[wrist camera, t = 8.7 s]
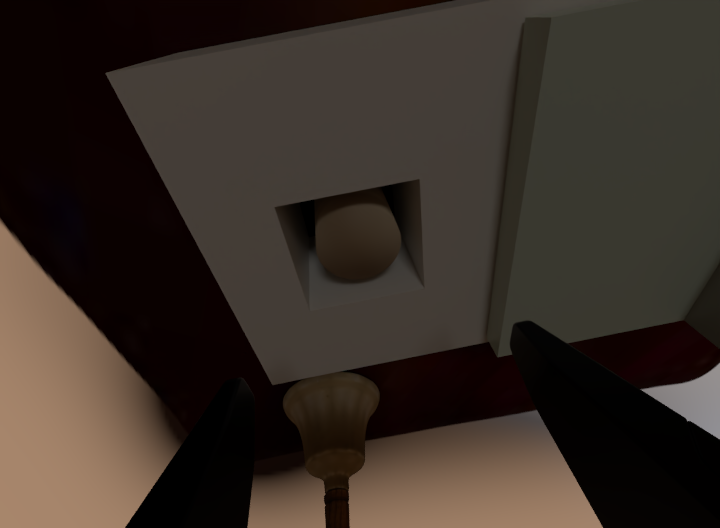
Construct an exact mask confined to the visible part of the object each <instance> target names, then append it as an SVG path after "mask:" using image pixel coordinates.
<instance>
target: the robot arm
mask: <svg viewBox="0 0 720 528" xmlns="http://www.w3.org/2000/svg"><path fill="white" fill-rule="evenodd" d="M510 349H511V352H512V354H513V357H514V359H515V361H516V364H517V366H518V368H519V371H520V373H521V375H522V378H523V380H524V382H525V385H526V387H527V389H528V392H529V394H530V396H531V398H532V401H533V403H534V405H535V407H536V409H537V411H538V412H539V414H540V416H541V418H542V420H543V422H544V423H545V425H546V427H547V429H548V430H549V432H550V434H551V436H552V437H553V439H554V441H555V443H556V444H557V446H558V448H559V450H560V452H561V454H562V455H563V457H564V459H565V461H566V462H567V464H568V466H569V468H570V469H571V471H572V473H573V475H574V476H575V478H576V480H577V482H578V484H579V485H580V487H581V489H582V491H583V493H584V494H585V496H586V498H587V500H588V501H589V503H590V505H591V507H592V508H593V510H594V512H595V514H596V516H597V517H598V519H599V521H600V523H601V525H602V526H603V528H720V439H718V438H716V437H715V436H713V435H711V434H710V433H708V432H707V431H705V430H704V429H702V428H700V427H699V426H697V425H696V424H694V423H692V422H691V421H688V422H687V420H686V418H684V417H683V416H681V415H680V414H678V413H676V412H675V411H673V410H672V409H670V408H668V407H667V406H665V405H664V404H662V403H661V402H659V401H657V400H656V399H654V398H653V397H651V396H649V395H648V394H646V393H645V392H643V391H642V390H640V389H638V388H637V387H635V386H634V385H632V384H631V383H629V382H627V381H626V380H624V379H623V378H621V377H620V376H618V375H616V374H615V373H613V372H612V371H610V370H608V369H607V368H605V367H604V366H602V365H601V364H599V363H597V362H596V361H594V360H593V359H591V358H589V357H588V356H586V355H585V354H583V353H582V352H580V351H578V350H577V349H575V348H574V347H572V346H571V345H569V344H567V343H566V342H564V341H563V340H561V339H559V338H558V337H556V336H555V335H553V334H552V333H550V332H548V331H547V330H545V329H544V328H542V327H541V326H539V325H537V324H536V323H534V322H532V321H530V320H526V321H521V322H516V323H514V324H513V327H512V332H511V337H510ZM254 458H255V399H254V395H253V393H252V391H251V390H250V388H249V386H248V385H247V383H246V382H245V380H244V379H243V378H235V379H230V380H227V381H226V382H225V383H224V384H223V385H222V387H221V388H220V390H219V391H218V393H217V394H216V396H215V397H214V398H213V400H212V401H211V403H210V404H209V406H208V407H207V409H206V410H205V412H204V413H203V415H202V416H201V417H200V419H199V420H198V422H197V423H196V425H195V426H194V428H193V429H192V431H191V432H190V434H189V435H188V436H187V438H186V440H185V441H184V443H183V444H182V445H181V447H180V448H179V450H178V451H177V453H176V454H175V456H174V457H173V459H172V460H171V461H170V463H169V464H168V466H167V467H166V469H165V470H164V472H163V473H162V475H161V476H160V477H159V479H158V481H157V482H156V483H155V485H154V486H153V488H152V489H151V491H150V492H149V493H148V495H147V496H146V498H145V499H144V501H143V502H142V504H141V505H140V507H139V508H138V510H137V511H136V513H135V514H134V515H133V517H132V518H131V520H130V522H129V523H128V524H127V526H126V527H125V528H247V526H248V517H249V507H250V499H251V489H252V481H253V472H254Z"/></svg>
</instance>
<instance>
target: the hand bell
mask: <svg viewBox="0 0 720 528" xmlns="http://www.w3.org/2000/svg"><path fill="white" fill-rule="evenodd" d="M379 398H380V394H379V390H378V388H377V386H376V385H375V384H374V382H372V381H371V380H369V379H367V378H366V377H363V376H361V375H359V374H354V373H349V372H335V373H330V374H325V375H320V376H315V377H310V378H305V379H302V380H301V381H299V382H297V383H296V384H295V385H293V386H292V387H291V388H290V389H289V390H288V391H287V393H286V394H285V396H284V399H283V408H284V411H285V413H286V415H287V416H288V418H289V419H290V420H291V421H292V422H293V423H294V424H296V426H297V428H298V429H299V432H300V435H301V438H302V443H303V448H304V456H305V466H306V469H307V471H308V472H309V473H310V474H311V475H312V476H314V477H317V478H320V479H322V480H323V481H324V485H325V493H326V495H325V496H324V502H325V505H326V506H325V518H326V528H350V527H349V504H348V501H349V493H348V489H349V484H348V480H349V477H350V476H351V475H353V474H355V473H356V472H358V471H359V470H360V469H361V468H362V466H363V465H364V462H365V433H366V427H367V423H368V420H369V418H370V416H371V415H372V414H373V413H374V411H375V410H376V408H377V406H378V403H379Z"/></svg>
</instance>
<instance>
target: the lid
mask: <svg viewBox="0 0 720 528" xmlns="http://www.w3.org/2000/svg"><path fill="white" fill-rule="evenodd" d="M526 320H530V321H532V322H534V323H536V324H537V325H539V326H541V327H542V328H544V329H545V330H547V331H548V332H550V333H552V334H553V335H555V336H556V337H558V338H559V339H561V340H563V341H564V342H566V343H571V342H576V341H581V340H586V339H591V338H596V337H601V336H606V335H611V334H616V333H621V332H626V331H631V330H636V329H641V328H646V327H651V326H656V325H661V324H666V323H671V322H676V321H681V320H684V321H686V322H687V323H688V324H689V325H691V326H692V327H693V328H694V329H696V330H697V331H698V332H699V333H701V334H702V335H703V336H704V337H706V338H707V339H708V340H709V341H710V342H712V343H713V344H714V345H715V346H717V347H718V348H719V349H720V0H614V1H609V2H604V3H598V4H593V5H588V6H583V7H577V8H572V9H567V10H562V11H556V12H551V13H546V14H540V15H535V16H530V17H525V25H524V33H523V41H522V49H521V58H520V66H519V74H518V83H517V91H516V99H515V107H514V116H513V124H512V132H511V140H510V149H509V157H508V165H507V174H506V182H505V190H504V198H503V207H502V215H501V223H500V231H499V240H498V248H497V256H496V264H495V273H494V281H493V289H492V298H491V306H490V314H489V322H488V331H487V339H488V341H489V343H490V345H491V346H492V348H493V350H494V352H495V354H496V355H497V357H501V356H506V355H511V354H512V352H511V349H510V337H511V332H512V327H513V324H514V323H516V322H521V321H526Z"/></svg>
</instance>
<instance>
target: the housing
mask: <svg viewBox="0 0 720 528" xmlns="http://www.w3.org/2000/svg"><path fill="white" fill-rule="evenodd" d="M609 1H614V0H455V1H450V2H445V3H439V4H434V5H429V6H423V7H418V8H413V9H408V10H402V11H397V12H392V13H386V14H381V15H376V16H370V17H365V18H360V19H355V20H349V21H344V22H339V23H333V24H328V25H323V26H317V27H312V28H307V29H302V30H296V31H291V32H286V33H280V34H275V35H270V36H265V37H259V38H254V39H249V40H243V41H238V42H233V43H227V44H222V45H217V46H212V47H206V48H201V49H196V50H190V51H185V52H180V53H176V54H172V55H169V56H165V57H161V58H158V59H154V60H151V61H147V62H144V63H140V64H136V65H133V66H129V67H126V68H122V69H119V70H115V71H111V72H108V73H106V75H107V77H108V79H109V81H110V83H111V84H112V86H113V88H114V90H115V92H116V94H117V96H118V98H119V99H120V101H121V103H122V105H123V107H124V109H125V111H126V112H127V114H128V116H129V118H130V120H131V122H132V124H133V126H134V127H135V129H136V131H137V133H138V135H139V137H140V139H141V140H142V142H143V144H144V146H145V148H146V150H147V152H148V154H149V155H150V157H151V159H152V161H153V163H154V165H155V167H156V168H157V170H158V172H159V174H160V176H161V178H162V180H163V182H164V183H165V185H166V187H167V189H168V191H169V193H170V195H171V196H172V198H173V200H174V202H175V204H176V206H177V208H178V209H179V211H180V213H181V215H182V217H183V219H184V221H185V223H186V224H187V226H188V228H189V230H190V232H191V234H192V236H193V237H194V239H195V241H196V243H197V245H198V247H199V249H200V251H201V252H202V254H203V256H204V258H205V260H206V262H207V264H208V265H209V267H210V269H211V271H212V273H213V275H214V277H215V279H216V280H217V282H218V284H219V286H220V288H221V290H222V292H223V293H224V295H225V297H226V299H227V301H228V303H229V305H230V307H231V308H232V310H233V312H234V314H235V316H236V318H237V320H238V321H239V323H240V325H241V327H242V329H243V331H244V333H245V335H246V336H247V338H248V340H249V342H250V344H251V346H252V348H253V349H254V351H255V353H256V355H257V357H258V359H259V361H260V362H261V364H262V366H263V368H264V370H265V372H266V374H267V376H268V377H269V379H270V381H271V383H272V385H275V384H280V383H285V382H290V381H295V380H300V379H305V378H310V377H315V376H320V375H325V374H330V373H335V372H340V371H345V370H350V369H355V368H360V367H365V366H370V365H375V364H380V363H385V362H390V361H395V360H400V359H405V358H410V357H415V356H420V355H425V354H430V353H435V352H440V351H445V350H450V349H455V348H460V347H465V346H470V345H475V344H480V343H485V342H489V341H488V339H487V331H488V322H489V314H490V306H491V298H492V289H493V281H494V273H495V264H496V256H497V248H498V240H499V231H500V223H501V215H502V207H503V198H504V190H505V182H506V174H507V165H508V157H509V149H510V140H511V132H512V124H513V116H514V107H515V99H516V91H517V83H518V74H519V66H520V58H521V49H522V41H523V33H524V25H525V17H530V16H535V15H540V14H546V13H551V12H556V11H562V10H567V9H572V8H577V7H583V6H588V5H593V4H598V3H604V2H609ZM391 184H392V191H393V202H394V212H395V221H396V223H397V226H398V228H399V231H400V234H401V247H400V250H399V253H398V255H397V257H396V259H395V260H394V261H393V263H392V264H391V265H390V266H389V267H388V268H386V269H385V270H384V271H382V272H381V273H379V274H377V275H375V276H372V277H369V278H364V279H346V278H342V277H339V276H336V275H334V274H333V273H331V272H329V271H328V270H327V269H326V268H325V267H324V266H323V265H322V264H321V262H320V260H319V259H318V256H317V252H316V237H315V236H313V237H309V235H308V231H307V228H306V224H305V221H304V217H303V214H302V210H301V207H300V203H299V202H303V201H308V200H313V199H319V198H324V197H329V196H334V195H339V194H344V193H350V192H355V191H360V190H365V189H370V188H375V187H380V186H386V185H391Z"/></svg>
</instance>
